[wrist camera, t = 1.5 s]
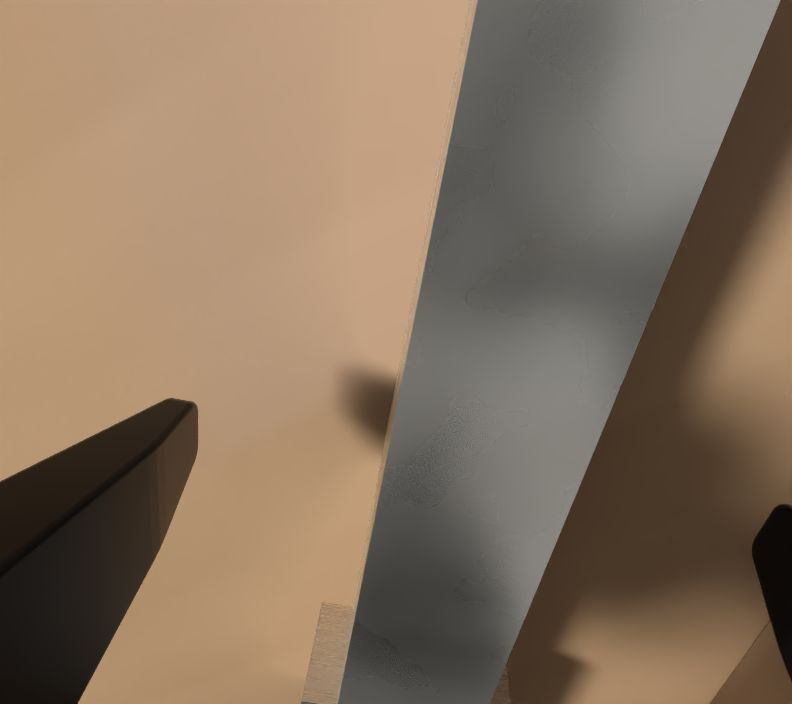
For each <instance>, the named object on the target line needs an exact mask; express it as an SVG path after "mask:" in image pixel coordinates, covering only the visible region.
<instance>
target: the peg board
mask: <svg viewBox="0 0 792 704" xmlns="http://www.w3.org/2000/svg"><path fill="white" fill-rule="evenodd" d="M710 704H792V683H791V680H790V678H789V675H788V673H787V670H786V668H785V665H784V662H783V659H782V657H781V654H780V651H779V648H778V645H777V641H776V638H775V635H774V632H773V628H772V624H771V621H770V622H769V623H768V624H767V626H766V627H765V629H764V630H763V631H762V633H761V634H760V635H759V637H758V638H757V640H756V641H755V642H754V644H753V645H752V647H751V648H750V649H749V651H748V652H747V653H746V655H745V656H744V658H743V659H742V660H741V662H740V663H739V664H738V666H737V667H736V669H735V670H734V671H733V673H732V674H731V675H730V677H729V678H728V680H727V681H726V682H725V684H724V685H723V687H722V688H721V689H720V691H719V692H718V693H717V695H716V696H715V698H714V699H713V700H712V702H711V703H710Z"/></svg>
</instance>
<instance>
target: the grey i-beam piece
mask: <svg viewBox="0 0 792 704" xmlns="http://www.w3.org/2000/svg"><path fill="white" fill-rule="evenodd" d="M779 3H780V0H470V1H469V6H468V11H467V16H466V22H465V27H464V32H463V37H462V42H461V47H460V53H459V58H458V63H457V68H456V73H455V78H454V84H453V89H452V94H451V99H450V104H449V110H448V115H447V120H446V125H445V130H444V135H443V141H442V146H441V151H440V156H439V161H438V166H437V172H436V177H435V182H434V187H433V192H432V198H431V203H430V208H429V213H428V218H427V223H426V229H425V234H424V239H423V244H422V249H421V254H420V260H419V265H418V270H417V275H416V280H415V286H414V291H413V296H412V301H411V306H410V311H409V317H408V322H407V327H406V332H405V337H404V342H403V348H402V353H401V358H400V363H399V368H398V374H397V379H396V384H395V389H394V394H393V399H392V405H391V410H390V415H389V420H388V425H387V430H386V436H385V441H384V446H383V451H382V456H381V462H380V467H379V472H378V477H377V482H376V487H375V493H374V498H373V503H372V508H371V513H370V518H369V524H368V529H367V534H366V539H365V544H364V550H363V555H362V560H361V565H360V570H359V575H358V581H357V586H356V591H355V596H354V601H353V606H352V607H349V606H343V605H337V604H331V603H325V602H322V604H321V609H320V614H319V619H318V624H317V628H316V633H315V638H314V643H313V648H312V653H311V657H310V662H309V667H308V672H307V677H306V682H305V686H304V691H303V696H302V701H301V704H511V702H510V692H509V682H508V672H507V661H508V658H509V656H510V653H511V651H512V648H513V646H514V644H515V641H516V639H517V636H518V634H519V632H520V629H521V627H522V624H523V622H524V619H525V617H526V615H527V612H528V610H529V607H530V605H531V603H532V600H533V598H534V595H535V593H536V590H537V588H538V586H539V583H540V581H541V578H542V576H543V574H544V571H545V569H546V566H547V564H548V561H549V559H550V557H551V554H552V552H553V549H554V547H555V544H556V542H557V540H558V537H559V535H560V532H561V530H562V528H563V525H564V523H565V520H566V518H567V515H568V513H569V511H570V508H571V506H572V503H573V501H574V499H575V496H576V494H577V491H578V489H579V486H580V484H581V482H582V479H583V477H584V474H585V472H586V470H587V467H588V465H589V462H590V460H591V457H592V455H593V453H594V450H595V448H596V445H597V443H598V441H599V438H600V436H601V433H602V431H603V428H604V426H605V424H606V421H607V419H608V416H609V414H610V412H611V409H612V407H613V404H614V402H615V399H616V397H617V395H618V392H619V390H620V387H621V385H622V382H623V380H624V378H625V375H626V373H627V370H628V368H629V366H630V363H631V361H632V358H633V356H634V353H635V351H636V349H637V346H638V344H639V341H640V339H641V337H642V334H643V332H644V329H645V327H646V324H647V322H648V320H649V317H650V315H651V312H652V310H653V308H654V305H655V303H656V300H657V298H658V295H659V293H660V291H661V288H662V286H663V283H664V281H665V279H666V276H667V274H668V271H669V269H670V266H671V264H672V262H673V259H674V257H675V254H676V252H677V249H678V247H679V245H680V242H681V240H682V237H683V235H684V233H685V230H686V228H687V225H688V223H689V220H690V218H691V216H692V213H693V211H694V208H695V206H696V204H697V201H698V199H699V196H700V194H701V191H702V189H703V187H704V184H705V182H706V179H707V177H708V175H709V172H710V170H711V167H712V165H713V162H714V160H715V158H716V155H717V153H718V150H719V148H720V146H721V143H722V141H723V138H724V136H725V133H726V131H727V129H728V126H729V124H730V121H731V119H732V116H733V114H734V112H735V109H736V107H737V104H738V102H739V100H740V97H741V95H742V92H743V90H744V87H745V85H746V83H747V80H748V78H749V75H750V73H751V71H752V68H753V66H754V63H755V61H756V58H757V56H758V54H759V51H760V49H761V46H762V44H763V42H764V39H765V37H766V34H767V32H768V29H769V27H770V25H771V22H772V20H773V17H774V15H775V13H776V10H777V8H778V5H779Z"/></svg>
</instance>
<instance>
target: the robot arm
mask: <svg viewBox="0 0 792 704" xmlns="http://www.w3.org/2000/svg"><path fill="white" fill-rule="evenodd" d="M197 450H198V409H197V405H196V404H195V403H194V402H191V401H185V400H180V399H174V398H169V399H166V400H164V401H162V402H160V403H157V404H155V405H153V406H151V407H149V408H147V409H145V410H143V411H141V412H139V413H137V414H135V415H133V416H131V417H129V418H127V419H125V420H123V421H121V422H119V423H117V424H115V425H113V426H111V427H109V428H107V429H105V430H103V431H101V432H99V433H97V434H95V435H93V436H91V437H89V438H87V439H85V440H83V441H81V442H79V443H77V444H75V445H73V446H71V447H69V448H67V449H65V450H63V451H61V452H59V453H57V454H55V455H53V456H51V457H49V458H47V459H45V460H43V461H41V462H39V463H37V464H35V465H33V466H31V467H29V468H26V469H24V470H22V471H20V472H18V473H16V474H14V475H12V476H10V477H8V478H6V479H4V480H2V481H0V704H78V702H79V700H80V698H81V696H82V694H83V692H84V691H85V689H86V687H87V685H88V683H89V681H90V679H91V678H92V676H93V674H94V672H95V670H96V668H97V666H98V664H99V663H100V661H101V659H102V657H103V655H104V653H105V651H106V649H107V648H108V646H109V644H110V642H111V640H112V638H113V636H114V635H115V633H116V631H117V629H118V627H119V625H120V623H121V621H122V620H123V618H124V616H125V614H126V612H127V610H128V608H129V606H130V605H131V603H132V601H133V599H134V597H135V595H136V593H137V592H138V590H139V588H140V586H141V584H142V582H143V580H144V578H145V577H146V575H147V573H148V571H149V569H150V567H151V565H152V563H153V562H154V560H155V558H156V556H157V554H158V552H159V550H160V548H161V545H162V543H163V540H164V538H165V536H166V533H167V531H168V528H169V526H170V523H171V520H172V518H173V515H174V513H175V510H176V508H177V505H178V503H179V500H180V497H181V495H182V492H183V490H184V487H185V485H186V482H187V480H188V477H189V474H190V472H191V469H192V467H193V464H194V462H195V459H196V455H197ZM752 557H753V561H754V564H755V568H756V571H757V575H758V578H759V582H760V585H761V589H762V593H763V596H764V600H765V603H766V607H767V610H768V614H769V617H770V621H771V624H772V628H773V632H774V635H775V638H776V641H777V645H778V648H779V651H780V654H781V657H782V659H783V662H784V665H785V668H786V670H787V673H788V675H789V678H790V680H791V683H792V505H790V504H780V505H778V506H777V507H775V508H774V509H773V510H772V512H771V514H770V515H769V517H768V518H767V520H766V521H765V523H764V525H763V526H762V528H761V529H760V531H759V532H758V534H757V536H756V537H755V539H754V541H753V544H752Z"/></svg>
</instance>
